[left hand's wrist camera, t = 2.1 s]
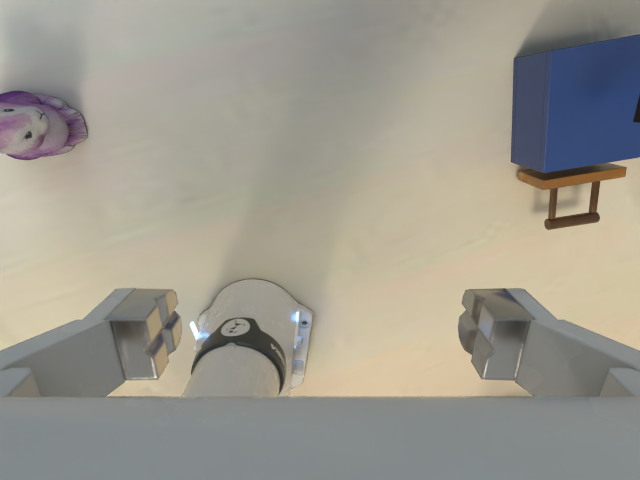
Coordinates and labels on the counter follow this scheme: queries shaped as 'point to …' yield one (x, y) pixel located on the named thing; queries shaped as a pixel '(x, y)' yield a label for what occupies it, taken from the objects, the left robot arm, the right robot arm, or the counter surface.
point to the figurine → (37, 125)
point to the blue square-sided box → (577, 106)
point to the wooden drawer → (567, 179)
